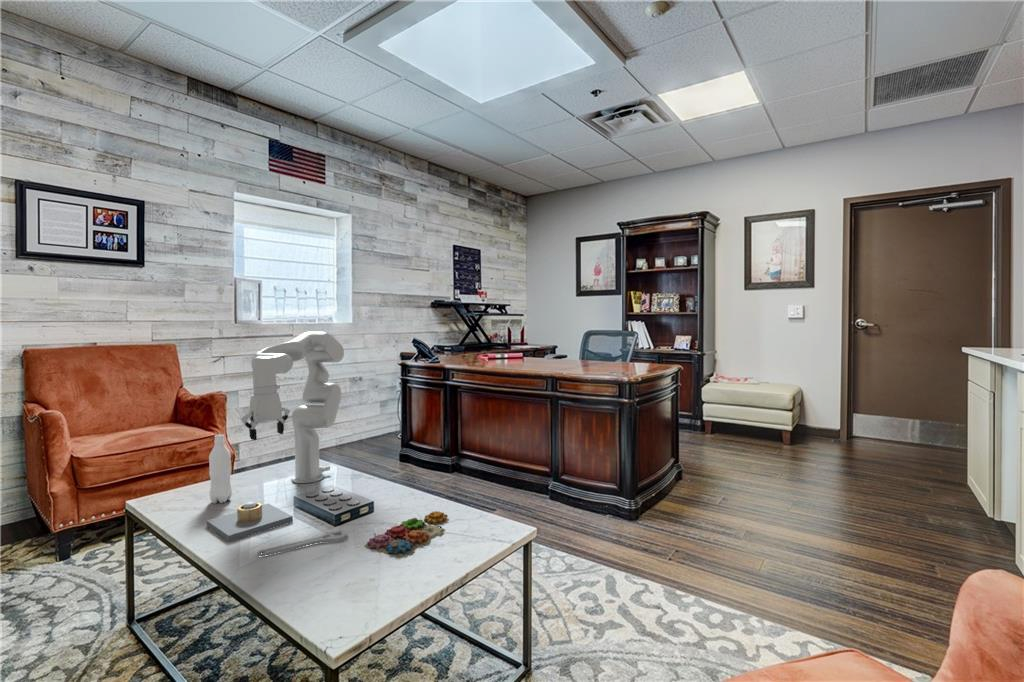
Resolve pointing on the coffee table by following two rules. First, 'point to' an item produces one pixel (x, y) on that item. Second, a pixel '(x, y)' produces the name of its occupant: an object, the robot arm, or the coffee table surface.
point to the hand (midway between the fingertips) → (267, 436)
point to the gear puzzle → (408, 535)
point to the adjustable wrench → (306, 543)
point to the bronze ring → (249, 513)
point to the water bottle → (220, 471)
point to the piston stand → (234, 529)
